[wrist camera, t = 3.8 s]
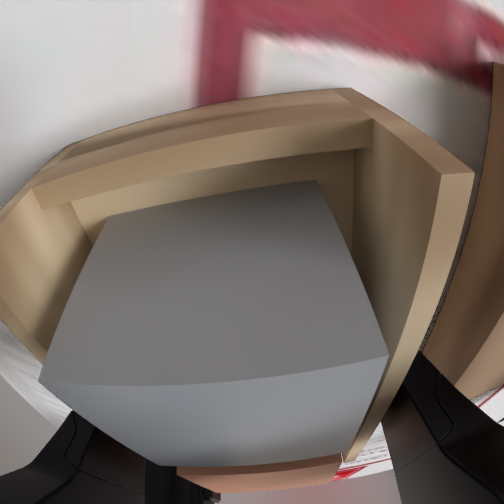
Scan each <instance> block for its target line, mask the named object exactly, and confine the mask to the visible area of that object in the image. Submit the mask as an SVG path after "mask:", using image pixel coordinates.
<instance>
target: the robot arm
mask: <svg viewBox="0 0 504 504" xmlns="http://www.w3.org/2000/svg"><path fill="white" fill-rule="evenodd" d="M381 424H382V427H383V431H384V434H385V438H386V442H387V445H388V449H389V453H390V457H391V460H392V464H393V468H394V472H395V473H396V474H395V476H396V480H397V484H398V489H399V493H400V497H401V502H402V504H504V426H502V425H500V424H498V423H497V422H495V421H494V420H493V419H491V418H490V417H489V416H488V415H487V414H485V413H484V412H483V411H482V410H481V409H480V408H478V407H477V406H476V405H475V404H474V403H472V402H471V401H470V400H469V399H468V398H467V397H466V396H464V395H463V394H462V393H461V392H460V391H459V390H458V389H457V388H456V387H455V386H454V385H453V384H452V383H451V382H450V381H449V380H448V379H447V378H446V377H445V376H444V375H443V374H442V373H440V371H439V370H438V369H437V368H436V367H435V366H434V365H433V364H432V363H431V362H430V361H429V360H428V359H427V358H426V357H425V355H424V354H423V353H422V352H421V351H420V350H419V349H418V352H417V354H416V356H415V358H414V360H413V362H412V364H411V366H410V368H409V370H408V372H407V374H406V376H405V378H404V380H403V382H402V384H401V386H400V387H399V389H398V391H397V393H396V395H395V397H394V398H393V400H392V402H391V404H390V406H389V407H388V409H387V411H386V413H385V414H384V416H383V418H382V419H381ZM220 500H221V494H220V493H216V492H214V491H211V490H209V489H207V488H204V487H202V486H200V485H198V484H196V483H193V482H191V481H189V480H187V479H185V478H183V477H181V476H179V475H177V466H162V465H157V464H156V463H154V462H152V461H150V460H148V459H147V458H145V457H143V456H141V455H140V454H138V453H136V452H135V451H133V450H131V449H130V448H128V447H126V446H125V445H123V444H122V443H120V442H118V441H117V440H115V439H114V438H112V437H111V436H109V435H108V434H106V433H105V432H103V431H102V430H100V429H99V428H97V427H96V426H94V425H93V424H92V423H90V422H89V421H87V420H86V419H85V418H83V417H82V416H81V415H79V414H78V413H77V412H75V411H74V410H73V411H71V412H70V414H69V415H68V417H67V418H66V419H65V421H64V422H63V424H62V425H61V427H60V428H59V429H58V431H57V432H56V433H55V434H54V436H53V437H52V438H51V440H50V441H49V442H48V443H47V444H46V446H45V447H44V448H43V449H42V451H41V452H40V453H39V454H38V455H37V457H36V458H35V459H34V460H33V461H32V462H31V463H30V464H28V465H27V466H25V467H23V468H21V469H18V470H15V471H13V472H10V473H8V474H5V475H2V476H0V504H214V503H218V502H219V501H220Z"/></svg>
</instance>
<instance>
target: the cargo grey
mask: <svg viewBox="0 0 504 504" xmlns="http://www.w3.org/2000/svg"><path fill="white" fill-rule="evenodd" d="M388 358H389V353H388V350H387V347H386V344H385V341H384V339H383V336H382V333H381V330H380V328H379V325H378V322H377V319H376V317H375V314H374V311H373V309H372V306H371V304H370V301H369V299H368V296H367V293H366V291H365V288H364V286H363V284H362V281H361V279H360V276H359V274H358V271H357V269H356V266H355V264H354V262H353V259H352V257H351V255H350V252H349V250H348V248H347V245H346V243H345V241H344V239H343V236H342V234H341V232H340V230H339V227H338V225H337V223H336V221H335V219H334V216H333V214H332V212H331V210H330V208H329V206H328V204H327V201H326V199H325V197H324V195H323V193H322V191H321V189H320V187H319V185H318V183H317V181H316V179H315V180H307V181H299V182H292V183H285V184H278V185H271V186H265V187H258V188H252V189H245V190H239V191H233V192H227V193H221V194H216V195H210V196H204V197H199V198H193V199H188V200H183V201H178V202H173V203H167V204H162V205H158V206H153V207H148V208H143V209H138V210H134V211H129V212H125V213H120V214H116V215H111V216H109V218H108V219H107V221H106V223H105V225H104V227H103V229H102V231H101V232H100V234H99V236H98V238H97V240H96V242H95V244H94V246H93V248H92V250H91V252H90V254H89V256H88V258H87V260H86V262H85V264H84V266H83V268H82V270H81V273H80V275H79V277H78V279H77V281H76V283H75V286H74V288H73V290H72V292H71V295H70V297H69V299H68V302H67V304H66V306H65V309H64V311H63V314H62V316H61V319H60V321H59V324H58V326H57V329H56V331H55V334H54V336H53V339H52V342H51V344H50V347H49V350H48V353H47V356H46V358H45V361H44V364H43V367H42V370H41V373H40V376H39V380H38V381H39V382H40V383H41V384H42V385H43V386H44V387H45V388H47V389H48V390H49V391H50V392H51V393H53V394H54V395H55V396H56V397H57V398H59V399H60V400H61V401H62V402H64V403H65V404H66V405H67V406H69V407H70V408H71V409H73V410H74V411H75V412H77V413H78V414H79V415H81V416H82V417H83V418H85V419H86V420H87V421H89V422H90V423H92V424H93V425H94V426H96V427H97V428H99V429H100V430H102V431H103V432H105V433H106V434H108V435H109V436H111V437H112V438H114V439H115V440H117V441H118V442H120V443H122V444H123V445H125V446H126V447H128V448H130V449H131V450H133V451H135V452H136V453H138V454H140V455H141V456H143V457H145V458H147V459H148V460H150V461H152V462H154V463H156V464H157V465H162V466H184V467H223V466H246V465H260V464H271V463H280V462H289V461H297V460H304V459H310V458H316V457H322V456H328V455H333V454H338V453H343V452H348V450H349V448H350V446H351V444H352V442H353V440H354V438H355V436H356V433H357V431H358V429H359V427H360V425H361V423H362V421H363V419H364V416H365V414H366V412H367V410H368V407H369V405H370V403H371V400H372V398H373V396H374V393H375V391H376V389H377V386H378V384H379V381H380V379H381V376H382V374H383V371H384V368H385V366H386V363H387V360H388Z"/></svg>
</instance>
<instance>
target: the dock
mask: <svg viewBox="0 0 504 504" xmlns="http://www.w3.org/2000/svg"><path fill="white" fill-rule="evenodd" d="M422 353H423V354H424V355H425V357H426V358H427V359H428V360H429V361H430V362H431V363H432V364H433V365H434V366H435V367H436V368H437V369H438V370H439V371H440V373H442V374H443V375H444V376H445V377H446V378H447V379H448V380H449V381H450V382H451V383H452V384H453V385H454V386H455V387H456V388H457V389H458V390H459V391H460V392H461V393H462V394H463V395H464V396H466V397H467V398H468V399H469V400H470V399H472V398H474V397H477V396H479V395H481V394H483V393H486V392H488V391H490V390H492V389H494V388H496V387H498V386H501V385H503V384H504V64H500V63H496V62H493V89H492V104H491V115H490V124H489V133H488V140H487V147H486V153H485V159H484V165H483V171H482V176H481V181H480V186H479V190H478V195H477V199H476V203H475V207H474V211H473V215H472V219H471V223H470V226H469V230H468V234H467V237H466V240H465V244H464V247H463V250H462V253H461V256H460V260H459V263H458V266H457V268H456V271H455V274H454V277H453V280H452V283H451V285H450V288H449V291H448V293H447V296H446V298H445V301H444V303H443V306H442V308H441V311H440V313H439V316H438V318H437V320H436V323H435V325H434V327H433V329H432V332H431V334H430V336H429V338H428V340H427V343H426V345H425V347H424V349H423V351H422Z"/></svg>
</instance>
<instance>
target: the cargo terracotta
mask: <svg viewBox="0 0 504 504" xmlns="http://www.w3.org/2000/svg"><path fill="white" fill-rule="evenodd" d="M341 463H342V457H341V453H338V454H333V455H328V456H322V457H316V458H310V459H304V460H297V461H289V462H280V463H271V464H260V465H246V466H223V467H184V466H177V475H179V476H181V477H183V478H185V479H187V480H189V481H191V482H193V483H196V484H198V485H200V486H202V487H204V488H207V489H209V490H211V491H214V492H216V493H236V492H257V491H270V490H281V489H290V488H298V487H305V486H312V485H318V484H324V483H330V482H331V481H332V479H333V478H334V476H335V474H336V472H337V470H338V469H339V467H340V465H341Z"/></svg>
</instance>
